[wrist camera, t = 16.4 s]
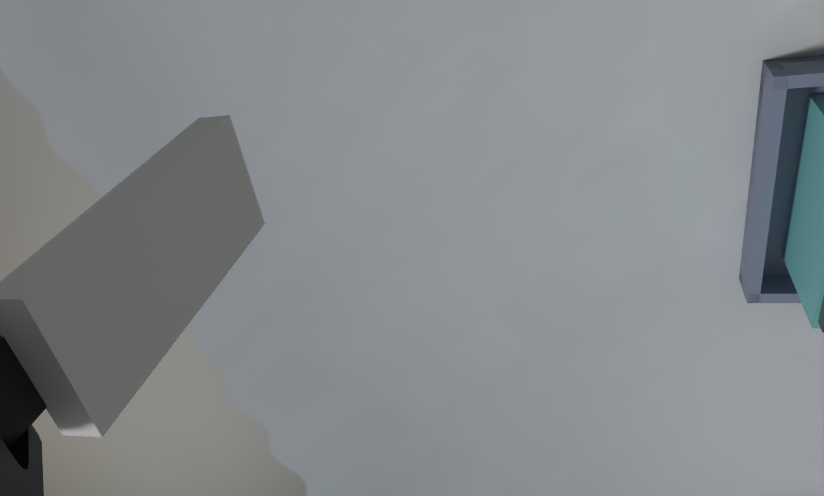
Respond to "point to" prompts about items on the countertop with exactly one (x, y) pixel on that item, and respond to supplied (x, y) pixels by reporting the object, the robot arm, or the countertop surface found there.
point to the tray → (775, 175)
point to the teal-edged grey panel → (808, 216)
